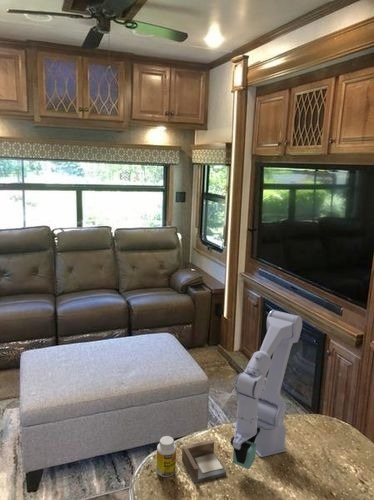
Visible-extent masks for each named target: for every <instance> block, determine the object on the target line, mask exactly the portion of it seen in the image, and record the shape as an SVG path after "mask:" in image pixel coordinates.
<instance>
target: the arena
mask: <svg viewBox="0 0 374 500" xmlns="http://www.w3.org/2000/svg"><path fill="white" fill-rule="evenodd" d="M181 461H182V462H183V465H184V466H185V469H186V471H187V472H188V475H189V476H190V478H191V480H192V482H193V483H194V484H196V483H200V482H201V483H202V482H204V481H209V480H211V479H216V478H221V477H223V476H226V475H227V471H226V469H225V467H224V466H223V465H222V463H221V461H220V459H218V457H217V454H215V441H214V440H213V439H211V440H206V441H201V442H198V443H197V442H196V443H193V444H189V445H184V446H182V448H181Z"/></svg>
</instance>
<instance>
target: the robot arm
mask: <svg viewBox="0 0 374 500" xmlns="http://www.w3.org/2000/svg"><path fill="white" fill-rule="evenodd" d="M302 328H303V319H302V317H301V316H300V315H295V314H291V313H287V312H285V311H284V312H282V311H279V310H276V309H272V310H270V311H269V313H268V315H267V317H266V334H265V336H264V339H263V341H262V344H261V346H260V348H259V350H257V351H255V352H253V354H252V356H251V358H250V360H249V362H248V363H247V365H246V367H245V369H244V371H243V372H240V373H238V375H237V376H236V379H235V382H234V387H233V388H234V392H235V398H236V399H237V408H236V409H237V410H236V421H234V422H233V423H232V428H233V429H235V430H234V436H232V438H231V439H230V445H231V446H232V448H233V449H234V451H235V455H236V459H237V462H239V463H242V464H244V462H245V460H246V456H247V452H248V449H249V448H250V446H251V444H248V443H246V440H247V441H250V442H253V443H255V444H256V455H257V456H258V457H259V458H264V457H268V456H272V455H276V454H281V453H284V452H286V451H287V449H286V448H285V446H286V445H285V444H286V437H287V436H286V435H287V433H286V432H287V429H286V424H285V423H284V421H285V418H286V417H285V416H286V407H287V403H286V401H285V400H284V398H283V397H282V396H281V394H280V393H281V389H282V385H283V380H284V377H285V374H286V369H287V366H288V361H289V358H290V353H291V350H292V347H293V344H296V343H299V340H300V337H301V333H302ZM271 357H272V358H271ZM266 375H267V377H266ZM265 377H266V380H265ZM265 381H266V382H265Z"/></svg>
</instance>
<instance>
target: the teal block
mask: <svg viewBox="0 0 374 500" xmlns="http://www.w3.org/2000/svg"><path fill="white" fill-rule="evenodd" d="M246 443H248V444H251V446H250V448H249V449H248V452H247V456H246V460H245V462H244V464H242V463H239V462H237V459H236V455H235V451H234V448H233V450H232V451H233V452H232V453H233V454H232V464H235V465H237V466H239V467H241V468H243V469H248V470H250V469H251V468H252V466H253V464H254V462H255V460H256V455H257V453H256V444H255V443H253V442H250V441H247V440H246Z"/></svg>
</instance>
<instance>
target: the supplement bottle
mask: <svg viewBox="0 0 374 500" xmlns="http://www.w3.org/2000/svg"><path fill="white" fill-rule="evenodd" d="M176 463H177V445H176V444H175V441H174V438H173V437H172V436H169V435H164V436H162V437H161V438H160V439H159V443H158V444H157V447H156V473H157V474H158V475H159V476H161V477H163V478H169V477H171V476H173V475H174V474H175V472H176V469H177V468H176V466H177V465H176Z"/></svg>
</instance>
